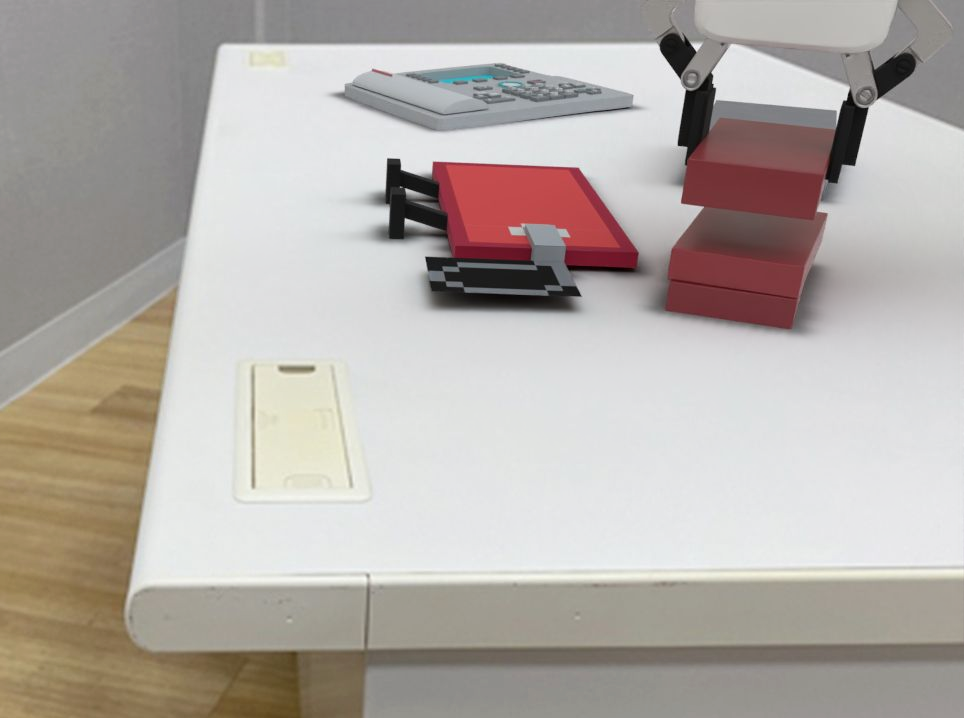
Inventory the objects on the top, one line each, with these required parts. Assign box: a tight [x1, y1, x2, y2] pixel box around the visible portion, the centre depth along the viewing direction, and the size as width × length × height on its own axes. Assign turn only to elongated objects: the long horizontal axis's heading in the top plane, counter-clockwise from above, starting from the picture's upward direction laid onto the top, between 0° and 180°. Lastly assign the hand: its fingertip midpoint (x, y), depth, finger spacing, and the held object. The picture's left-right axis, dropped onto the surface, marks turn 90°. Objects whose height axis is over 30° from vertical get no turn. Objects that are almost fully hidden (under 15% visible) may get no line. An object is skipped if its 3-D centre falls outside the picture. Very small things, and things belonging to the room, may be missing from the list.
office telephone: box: [344, 62, 634, 131], centre depth 118 cm, size 23×3×20 cm
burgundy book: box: [680, 118, 836, 220], centre depth 68 cm, size 12×7×2 cm, turn 159°
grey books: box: [709, 99, 838, 202], centre depth 96 cm, size 14×10×4 cm
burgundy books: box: [664, 207, 829, 330], centre depth 71 cm, size 12×8×4 cm, turn 159°
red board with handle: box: [384, 157, 640, 298], centre depth 80 cm, size 30×3×15 cm
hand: (762, 166), depth 68 cm, fingers closed on burgundy book, 7 cm apart
